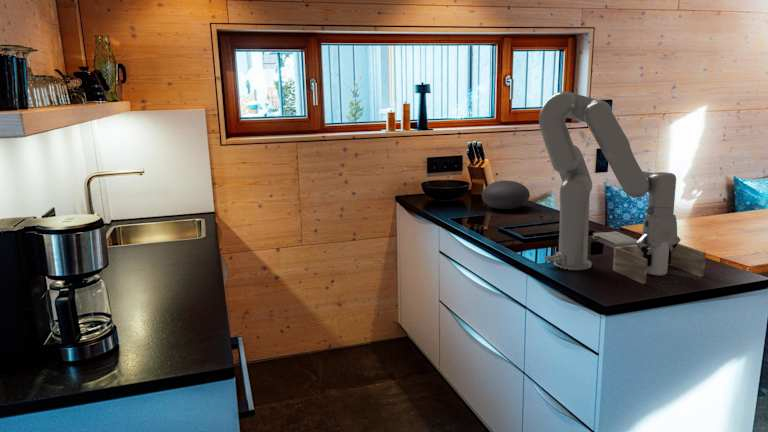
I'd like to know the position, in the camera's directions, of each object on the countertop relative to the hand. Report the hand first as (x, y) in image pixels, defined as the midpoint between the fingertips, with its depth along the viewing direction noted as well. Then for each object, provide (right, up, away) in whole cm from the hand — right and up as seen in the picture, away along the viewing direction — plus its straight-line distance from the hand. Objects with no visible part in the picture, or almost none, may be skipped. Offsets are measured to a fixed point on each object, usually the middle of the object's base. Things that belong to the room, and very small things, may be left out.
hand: (656, 263), depth 183 cm
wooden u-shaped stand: (0, -3, 0) cm, 3 cm away
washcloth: (+3, +5, +40) cm, 40 cm away
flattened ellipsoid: (-26, +19, +109) cm, 114 cm away
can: (0, -3, +1) cm, 3 cm away
